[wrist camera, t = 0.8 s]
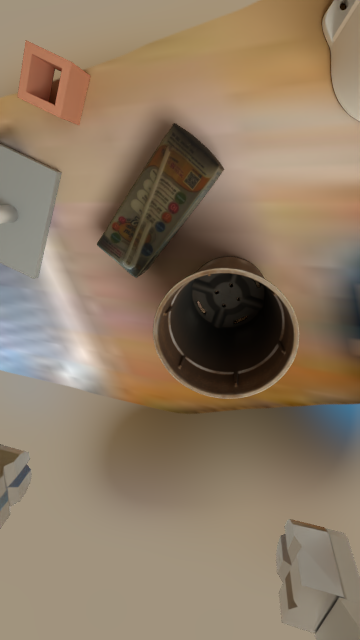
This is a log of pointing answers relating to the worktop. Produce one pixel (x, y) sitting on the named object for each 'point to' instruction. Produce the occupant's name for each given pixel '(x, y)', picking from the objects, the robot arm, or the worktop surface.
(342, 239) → the worktop surface
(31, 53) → the collar
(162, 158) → the beverage carton
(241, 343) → the plant pot
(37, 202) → the post board
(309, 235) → the worktop surface
